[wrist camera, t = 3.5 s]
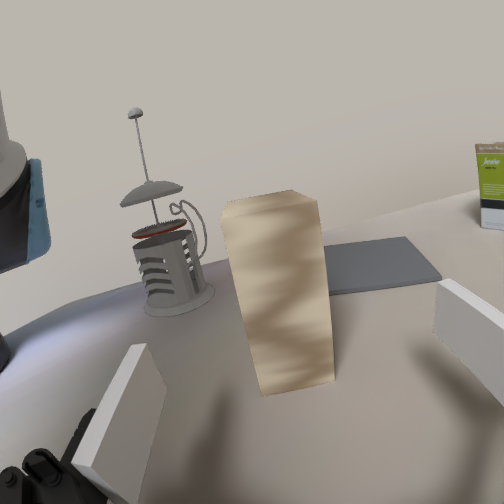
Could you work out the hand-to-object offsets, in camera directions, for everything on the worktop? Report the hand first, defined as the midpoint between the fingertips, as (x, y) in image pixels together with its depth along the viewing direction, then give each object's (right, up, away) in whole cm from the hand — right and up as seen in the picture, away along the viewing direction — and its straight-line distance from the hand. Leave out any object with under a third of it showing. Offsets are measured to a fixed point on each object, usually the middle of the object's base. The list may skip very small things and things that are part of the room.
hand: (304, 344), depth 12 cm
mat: (+11, +2, +25) cm, 27 cm away
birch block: (+1, -4, +10) cm, 11 cm away
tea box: (+46, +9, +26) cm, 53 cm away
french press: (-11, -2, +25) cm, 28 cm away
